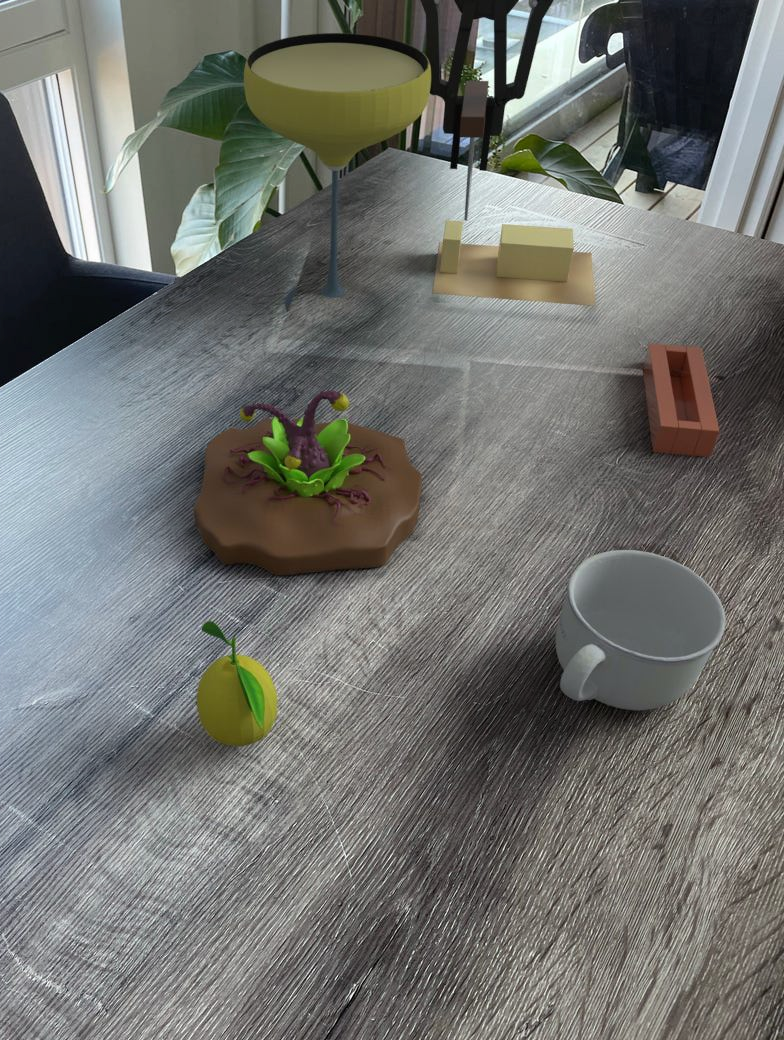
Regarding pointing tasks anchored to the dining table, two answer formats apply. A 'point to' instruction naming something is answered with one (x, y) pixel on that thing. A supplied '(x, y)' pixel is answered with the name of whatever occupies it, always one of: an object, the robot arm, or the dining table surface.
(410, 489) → the plant
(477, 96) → the knife
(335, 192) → the cocktail glass
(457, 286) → the board
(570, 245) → the butter
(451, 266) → the butter slice
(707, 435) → the knife stand
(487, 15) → the robot arm
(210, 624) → the lemon
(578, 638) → the teacup
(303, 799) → the dining table surface
